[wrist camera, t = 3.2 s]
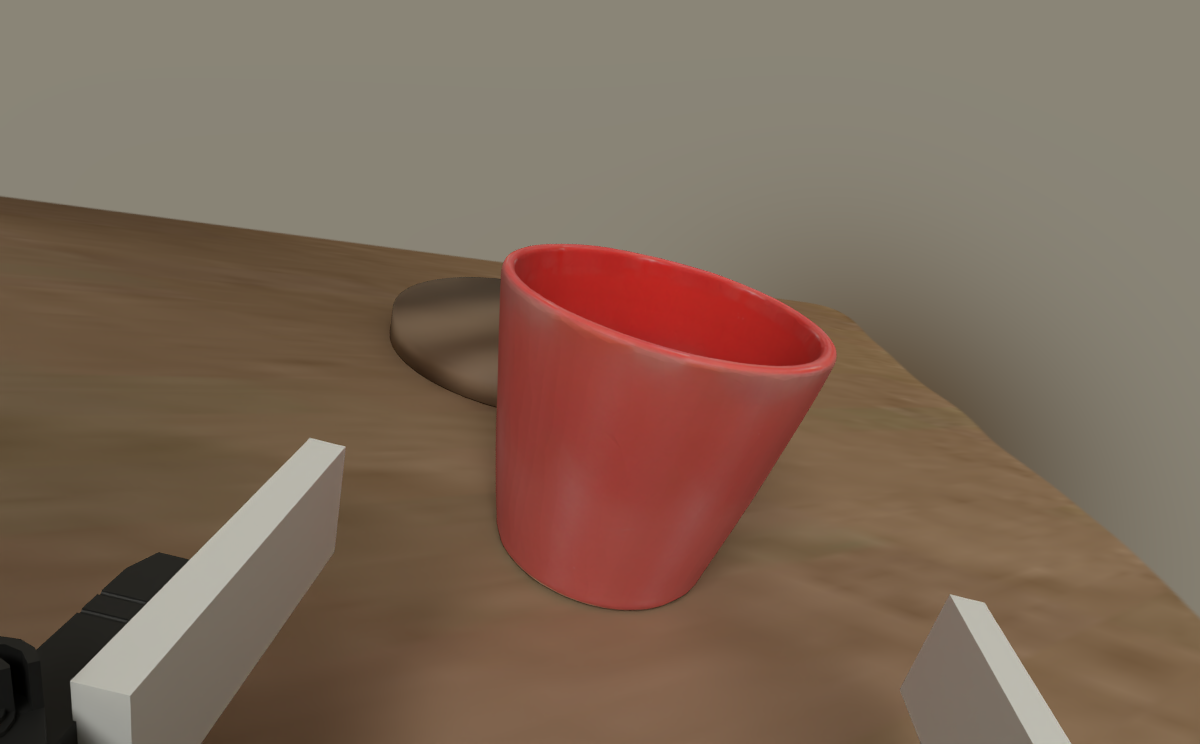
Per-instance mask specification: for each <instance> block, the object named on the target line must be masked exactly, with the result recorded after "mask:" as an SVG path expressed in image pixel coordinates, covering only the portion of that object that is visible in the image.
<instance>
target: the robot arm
mask: <svg viewBox="0 0 1200 744" xmlns="http://www.w3.org/2000/svg"><path fill="white" fill-rule="evenodd" d="M345 448H346V447H345V446H341V445H337V444H333V443H329V442H325V441H321V440H316V439H312V438H309V440H308V441H307V442H306V443H305V444H304V445H303V446H302V447H301V448H300V449H299V450H298V451H297V452H296V453H295V454H294V455H293V456H292V457H291V458H290V459H289V460H288V461H287V462H286V463H285V464H284V465H283V466H282V467H281V468H280V469H279V470H278V471H277V472H276V473H275V474H274V475H273V476H272V477H271V478H270V479H269V480H268V481H267V482H266V483H265V484H264V485H263V486H262V487H261V488H260V489H259V490H258V491H257V492H256V493H255V494H254V495H253V496H252V497H251V498H250V499H249V500H248V501H247V502H246V503H245V504H244V505H243V506H242V507H241V508H240V509H239V511H238V512H237V513H236V514H235V515H234V516H233V517H232V518H231V519H230V520H229V521H228V522H227V523H226V524H225V525H224V526H223V527H222V528H221V529H220V530H219V531H218V532H217V533H216V534H215V535H214V536H213V537H212V538H211V539H210V540H209V541H208V542H207V543H206V544H205V545H204V546H203V547H202V548H201V549H200V550H199V551H198V552H197V553H196V554H195V555H194V556H193V557H192V558H191V559H190V560H188V559H184V558H180V557H176V556H172V555H168V554H164V553H160V552H158V553H156V554H154V555H152V556H150V557H148V558H146V559H144V560H142V561H140V562H138V563H136V564H134V565H132V566H130V567H128V568H126V569H125V570H124V571H123V572H121V573H120V574H119V575H118V576H117V577H116V578H115V579H114V580H113V581H112V582H110V583H109V584H108V585H107V586H106V587H105V588H104V589H103V590H102V592H101V594H100V595H98V594H97V595H96V596H95V597H94V598H93V599H92V600H91V601H90V602H88V603H87V604H86V605H85V606H84V607H83V608H82V611H81V612H80V613H76V614H75V615H74V616H73V617H72V618H71V619H70V620H69V621H68V622H67V623H65V624H64V625H63V626H62V627H61V628H60V629H59V630H58V631H57V632H56V633H54V634H53V635H52V636H51V637H50V638H49V639H48V640H47V641H46V642H45V643H43V644H42V645H41V646H40V647H39V648H38V649H37V650H35V648H34V647H33V646H31V645H29V644H28V643H26V642H24V641H23V640H21V639H15V638H8V637H1V636H0V744H201V743H202V741H203V740H204V739H205V737H206V736H207V734H208V733H209V731H210V730H211V729H212V727H213V726H214V724H215V723H216V721H217V720H218V718H219V717H220V716H221V714H222V713H223V711H224V710H225V708H226V707H227V706H228V704H229V703H230V701H231V700H232V698H233V697H234V695H235V694H236V693H237V691H238V690H239V688H240V687H241V685H242V684H243V683H244V681H245V680H246V678H247V677H248V675H249V674H250V673H251V671H252V670H253V668H254V667H255V665H256V664H257V662H258V661H259V660H260V658H261V657H262V655H263V654H264V652H265V651H266V650H267V648H268V647H269V645H270V644H271V642H272V641H273V639H274V638H275V637H276V635H277V634H278V632H279V631H280V629H281V628H282V627H283V625H284V624H285V622H286V621H287V619H288V618H289V616H290V615H291V614H292V612H293V611H294V609H295V608H296V606H297V605H298V604H299V602H300V601H301V599H302V598H303V596H304V595H305V593H306V592H307V591H308V589H309V588H310V586H311V585H312V583H313V582H314V581H315V579H316V578H317V576H318V575H319V573H320V572H321V571H322V569H323V568H324V566H325V565H326V563H327V562H328V560H329V559H330V558H331V556H332V555H333V553H334V551H335V541H336V532H337V523H338V514H339V504H340V495H341V486H342V476H343V467H344V458H345ZM900 691H901V694H902V696H903V699H904V702H905V704H906V707H907V709H908V712H909V714H910V717H911V720H912V722H913V725H914V727H915V730H916V732H917V735H918V738H919V740H920V743H921V744H1071V743H1070V741H1069V739H1068V738H1067V736H1066V734H1065V733H1064V731H1063V730H1062V728H1061V726H1060V725H1059V723H1058V721H1057V720H1056V718H1055V717H1054V715H1053V713H1052V712H1051V710H1050V708H1049V707H1048V705H1047V704H1046V702H1045V700H1044V699H1043V697H1042V695H1041V694H1040V692H1039V691H1038V689H1037V687H1036V686H1035V684H1034V682H1033V681H1032V679H1031V678H1030V676H1029V674H1028V673H1027V671H1026V669H1025V668H1024V666H1023V665H1022V663H1021V661H1020V660H1019V658H1018V656H1017V655H1016V653H1015V652H1014V650H1013V648H1012V647H1011V645H1010V643H1009V642H1008V640H1007V639H1006V637H1005V635H1004V634H1003V632H1002V630H1001V629H1000V627H999V626H998V624H997V622H996V621H995V619H994V617H993V616H992V614H991V613H990V611H989V609H988V608H987V606H986V604H985V603H983V602H979V601H975V600H970V599H966V598H962V597H958V596H954V595H949V597H948V599H947V601H946V602H945V604H944V606H943V608H942V610H941V612H940V614H939V616H938V618H937V620H936V621H935V623H934V625H933V627H932V629H931V631H930V633H929V635H928V637H927V639H926V640H925V642H924V644H923V646H922V648H921V650H920V652H919V654H918V656H917V658H916V659H915V661H914V663H913V665H912V667H911V669H910V671H909V673H908V675H907V676H906V678H905V680H904V682H903V684H902V686H901V688H900Z"/></svg>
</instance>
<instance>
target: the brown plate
mask: <svg viewBox="0 0 1200 744" xmlns="http://www.w3.org/2000/svg"><path fill="white" fill-rule="evenodd" d="M500 284H501V279H497V278H481V277H459V278H445V279H437V280H432V281H427V282H423V283H420V284H416V285H414V286H412V287H409V288H407V289H406V290H404V291H403V292H401V293H400V294H399V296H398V297H397V298H396V299H395V302H394V304H393V311H392V319H391V327H390V340H391V343H392V346H393V348H394V349H395V351H396V352H397V354H398V355H399V356H400V357H401V358H402V359H403V361H404V362H405V363H406V364H408V365H409V366H410V367H411V368H413V369H414V370H415V371H416V372H418V373H419V374H421V375H422V376H424V377H426V378H427V379H429V380H430V381H432V382H434V383H436V384H438V385H440V386H442V387H444V388H446V389H448V390H450V391H452V392H455V393H457V394H459V395H462V396H464V397H467V398H470V399H473V400H475V401H478V402H481V403H484V404H487V405H491V406H495V407H497V384H498V345H499V310H500Z"/></svg>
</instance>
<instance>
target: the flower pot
mask: <svg viewBox="0 0 1200 744" xmlns="http://www.w3.org/2000/svg"><path fill="white" fill-rule="evenodd" d="M836 356H837V354H836V349H835V346H834V344H833V343H832V341H831V339H830V338H829V337H828V336H827V335H826V334H825V333H824V331H823V330H822V329H821V328H820V327H818V326H817V325H816V324H815V323H813V322H812V321H811V320H809V319H808V318H806V317H805V316H803V315H802V314H800V313H799V312H797V311H796V310H794V309H792V308H791V307H789V306H787V305H785V304H784V303H782V302H780V301H778V300H776V299H774V298H772V297H770V296H768V295H766V294H764V293H762V292H759V291H757V290H755V289H752V288H750V287H747V286H745V285H743V284H741V283H738V282H735V281H733V280H730V279H728V278H725V277H722V276H720V275H717V274H714V273H711V272H708V271H704V270H701V269H698V268H694V267H691V266H687V265H684V264H680V263H677V262H672V261H668V260H665V259H661V258H656V257H652V256H647V255H642V254H638V253H633V252H629V251H624V250H618V249H613V248H607V247H600V246H590V245H577V244H544V245H534V246H528V247H525V248H521V249H518V250H516V251H514V252H512V253H510V254H509V255H508V256H507V257H506V259H505V261H504V262H503V266H502V269H501V284H500V310H499V345H498V384H497V418H496V506H497V526H498V530H499V534H500V538H501V541H502V543H503V546H504V547H505V549H506V550H507V552H508V554H509V555H510V556H511V557H512V559H513V560H514V561H515V562H516V564H517V565H518V566H519V567H520V568H521V569H522V570H524V571H525V572H526V573H527V574H528V575H530V576H531V577H532V578H533V579H535V580H536V581H538V582H539V583H540V584H542V585H544V586H546V587H547V588H549V589H551V590H553V591H555V592H557V593H559V594H561V595H563V596H565V597H568V598H570V599H573V600H576V601H579V602H582V603H585V604H589V605H593V606H598V607H602V608H608V609H618V610H643V609H650V608H655V607H659V606H662V605H665V604H667V603H669V602H671V601H673V600H676V599H677V598H679V597H681V596H683V595H685V594H686V593H687V592H688V591H689V590H690V589H691V588H692V587H693V586H694V585H695V584H696V583H697V581H698V579H699V578H700V576H701V575H702V573H703V572H704V571H705V569H706V568H707V566H708V565H709V563H710V562H711V560H712V559H713V557H714V556H715V554H716V553H717V552H718V550H719V549H720V547H721V546H722V544H723V543H724V541H725V540H726V539H727V537H728V536H729V534H730V533H731V531H732V530H733V528H734V527H735V525H736V524H737V522H738V521H739V519H740V518H741V516H742V515H743V513H744V512H745V510H746V509H747V507H748V506H749V504H750V503H751V501H752V500H753V498H754V497H755V495H756V493H757V492H758V490H759V489H760V487H761V486H762V484H763V482H764V481H765V479H766V478H767V476H768V474H769V473H770V471H771V470H772V468H773V466H774V465H775V463H776V462H777V460H778V458H779V457H780V455H781V454H782V452H783V450H784V449H785V447H786V446H787V444H788V442H789V441H790V439H791V438H792V436H793V434H794V433H795V431H796V430H797V428H798V426H799V425H800V423H801V422H802V420H803V418H804V417H805V415H806V413H807V412H808V410H809V408H810V407H811V405H812V403H813V402H814V400H815V398H816V397H817V395H818V393H819V391H820V390H821V388H822V386H823V384H824V383H825V381H826V379H827V378H828V376H829V374H830V372H831V370H832V368H833V367H834V365H835V362H836Z"/></svg>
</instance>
